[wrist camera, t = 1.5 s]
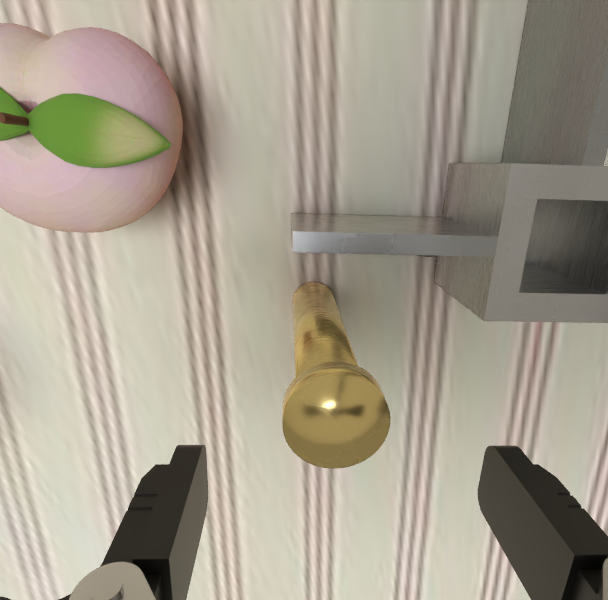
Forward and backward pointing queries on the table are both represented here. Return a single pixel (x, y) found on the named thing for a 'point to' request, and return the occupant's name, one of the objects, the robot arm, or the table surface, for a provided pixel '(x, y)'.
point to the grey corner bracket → (517, 189)
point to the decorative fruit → (83, 129)
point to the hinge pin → (330, 389)
